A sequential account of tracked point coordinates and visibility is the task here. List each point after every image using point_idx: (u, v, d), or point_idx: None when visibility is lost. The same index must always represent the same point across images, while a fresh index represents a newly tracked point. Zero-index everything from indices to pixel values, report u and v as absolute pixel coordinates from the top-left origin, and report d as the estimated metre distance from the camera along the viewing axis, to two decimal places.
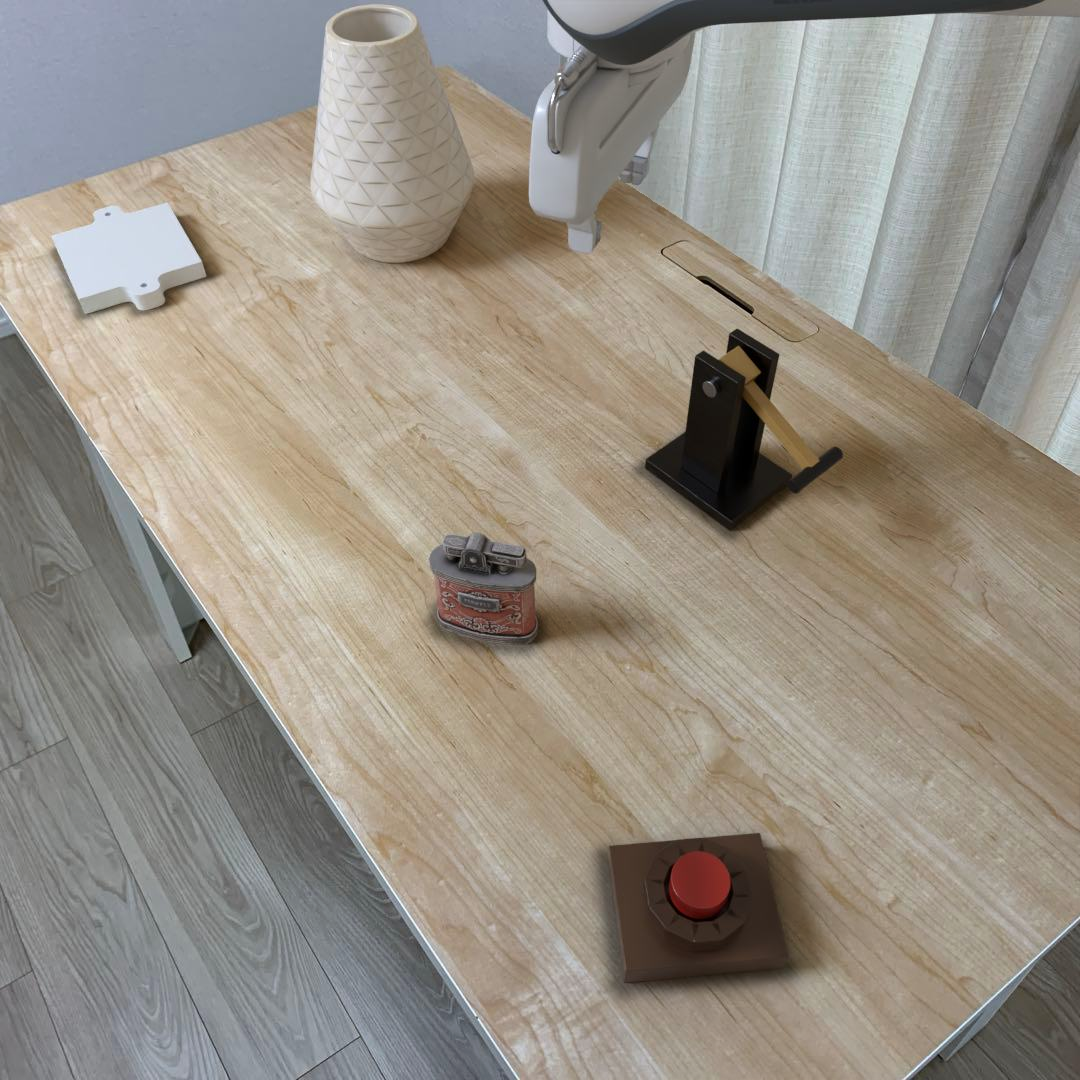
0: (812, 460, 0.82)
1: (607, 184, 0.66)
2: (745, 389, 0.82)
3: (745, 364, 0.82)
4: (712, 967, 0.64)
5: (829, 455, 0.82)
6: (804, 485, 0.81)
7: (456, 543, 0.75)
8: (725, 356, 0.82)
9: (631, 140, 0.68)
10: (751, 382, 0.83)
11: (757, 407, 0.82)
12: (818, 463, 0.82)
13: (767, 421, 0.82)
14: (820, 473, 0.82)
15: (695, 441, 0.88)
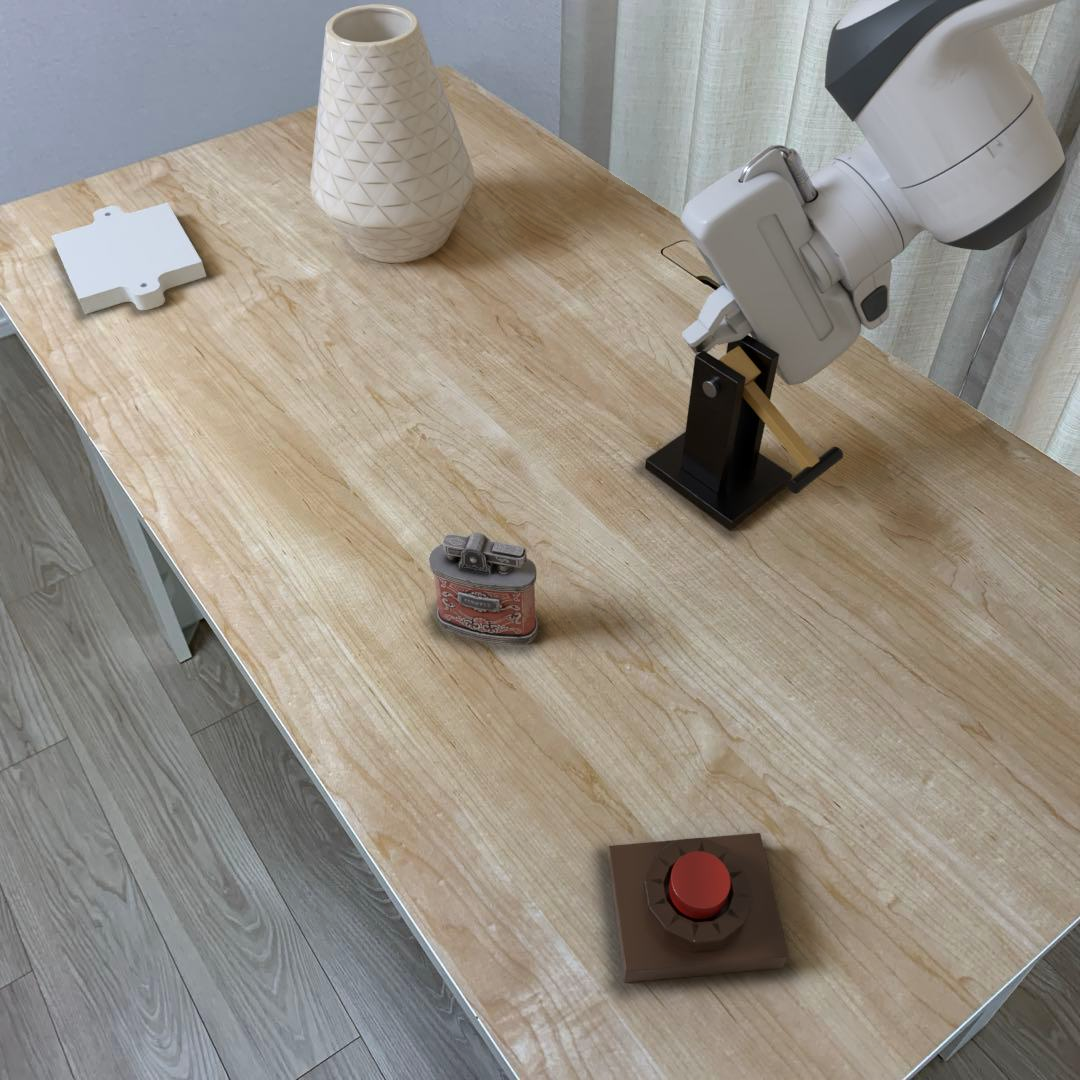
0: (812, 460, 0.82)
1: (730, 265, 0.76)
2: (745, 389, 0.82)
3: (745, 364, 0.82)
4: (712, 967, 0.64)
5: (829, 455, 0.82)
6: (804, 485, 0.81)
7: (456, 543, 0.75)
8: (725, 356, 0.82)
9: (761, 293, 0.79)
10: (751, 382, 0.83)
11: (757, 407, 0.82)
12: (818, 463, 0.82)
13: (767, 421, 0.82)
14: (820, 473, 0.82)
15: (695, 441, 0.88)
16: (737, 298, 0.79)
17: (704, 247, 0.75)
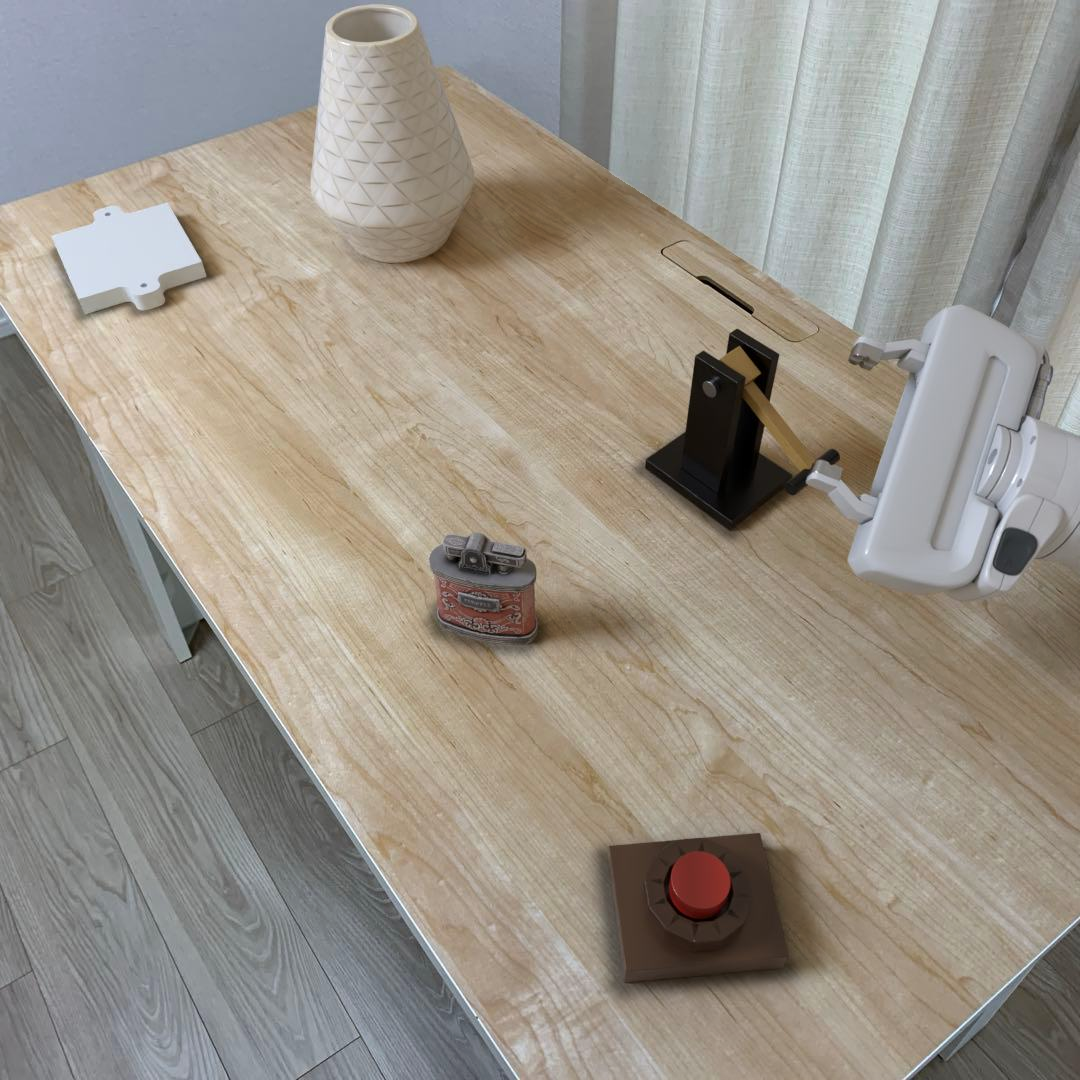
0: (810, 462, 0.82)
1: (944, 357, 0.71)
2: (745, 390, 0.82)
3: (746, 364, 0.82)
4: (712, 967, 0.64)
5: (826, 457, 0.82)
6: (801, 487, 0.81)
7: (456, 543, 0.75)
8: (726, 356, 0.82)
9: (938, 417, 0.70)
10: (751, 383, 0.83)
11: (757, 408, 0.82)
12: None
13: (766, 422, 0.83)
14: None
15: (695, 441, 0.88)
16: (918, 395, 0.71)
17: (941, 320, 0.72)
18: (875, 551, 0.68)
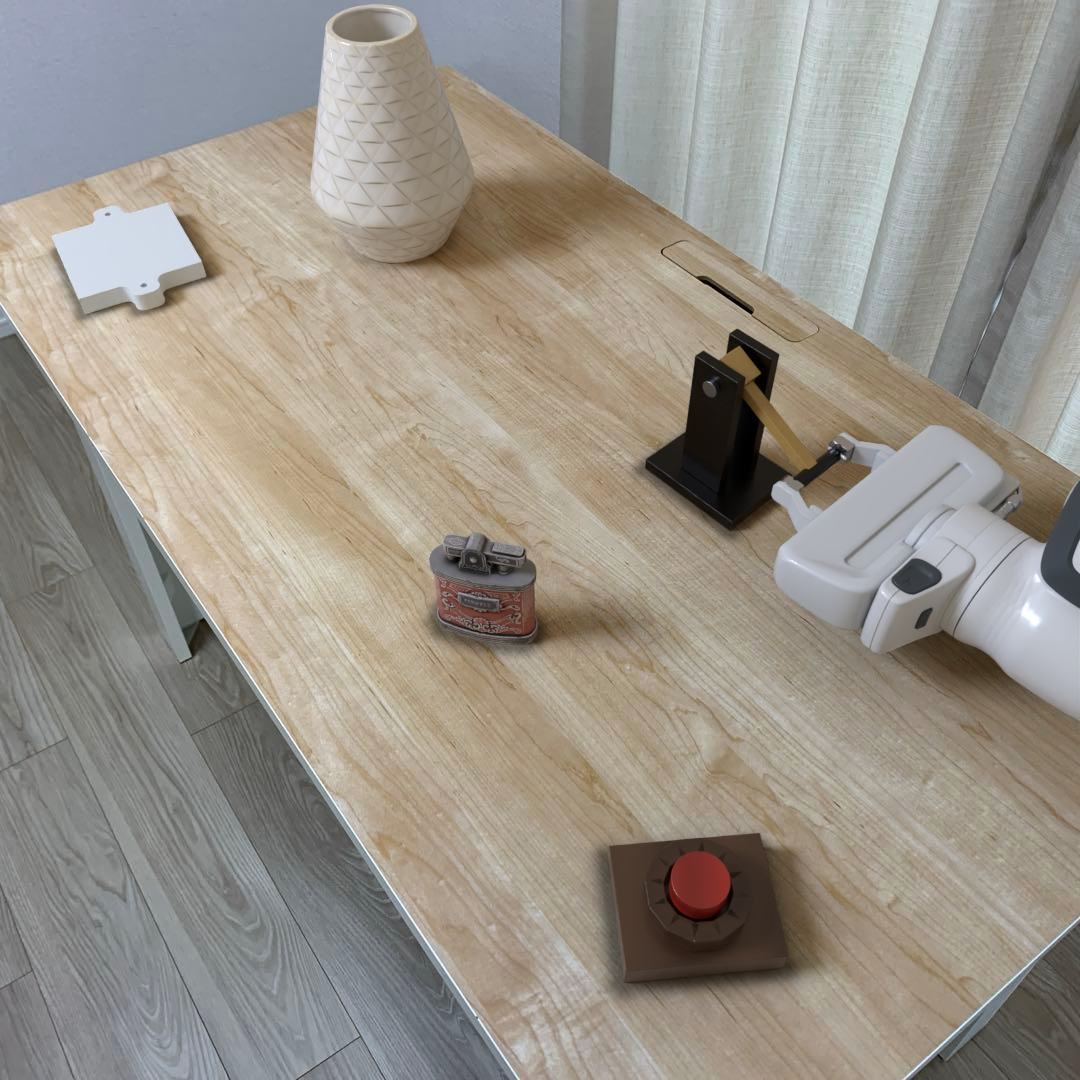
0: (810, 462, 0.82)
1: (914, 449, 0.81)
2: (745, 390, 0.82)
3: (746, 364, 0.82)
4: (712, 967, 0.64)
5: (826, 457, 0.82)
6: None
7: (456, 543, 0.75)
8: (726, 356, 0.82)
9: (890, 483, 0.78)
10: (751, 383, 0.83)
11: (757, 408, 0.82)
12: (815, 465, 0.82)
13: (766, 422, 0.83)
14: (817, 475, 0.82)
15: (695, 441, 0.88)
16: (880, 466, 0.80)
17: (923, 430, 0.82)
18: (790, 545, 0.75)
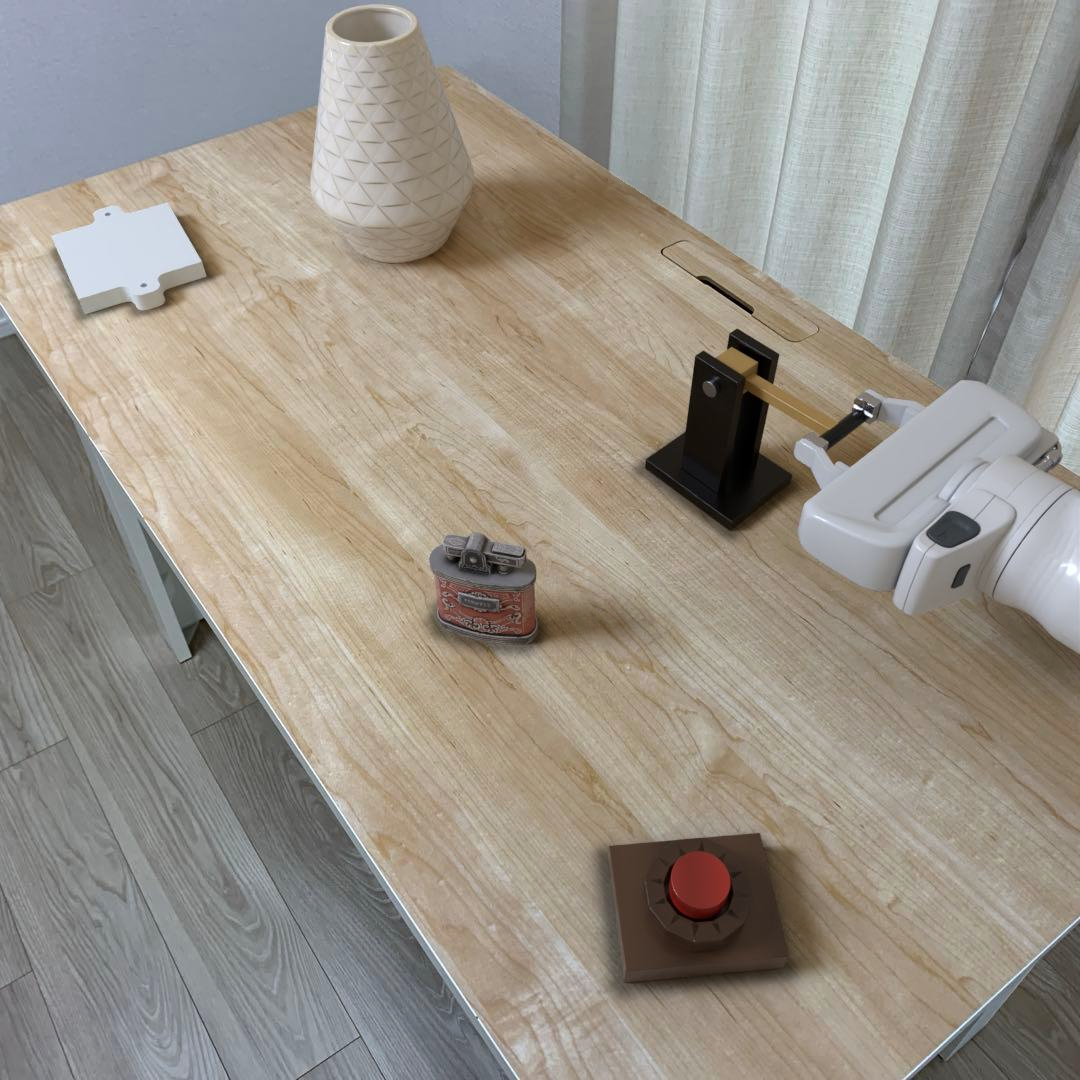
0: (830, 424, 0.78)
1: (945, 404, 0.76)
2: (746, 381, 0.82)
3: (740, 359, 0.82)
4: (712, 967, 0.64)
5: (848, 416, 0.78)
6: None
7: (456, 543, 0.75)
8: (718, 356, 0.83)
9: (921, 438, 0.74)
10: (751, 374, 0.82)
11: (763, 393, 0.81)
12: (836, 425, 0.78)
13: (776, 403, 0.80)
14: (841, 433, 0.77)
15: (695, 441, 0.88)
16: (909, 421, 0.75)
17: (954, 385, 0.78)
18: (815, 501, 0.70)
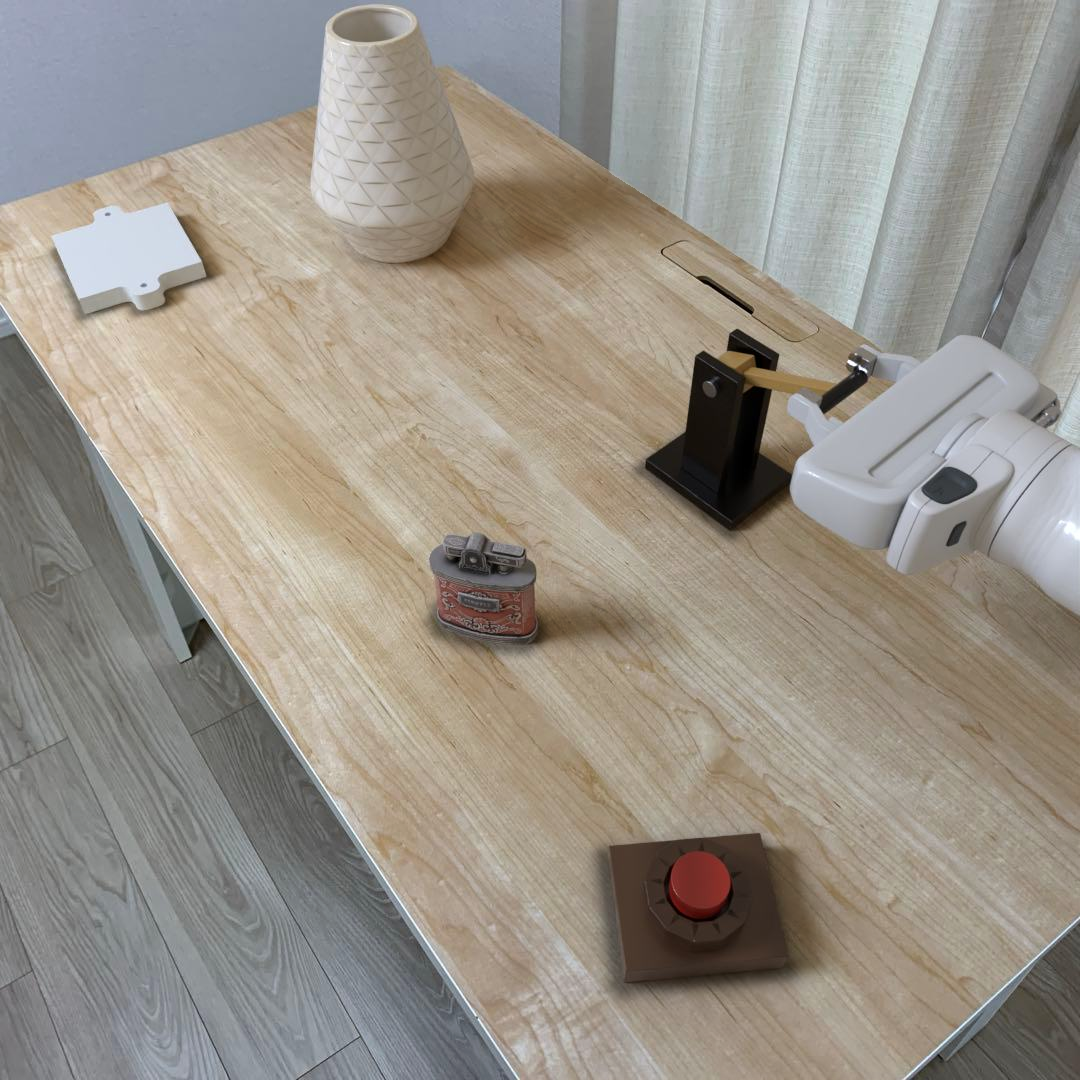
0: (829, 386, 0.76)
1: (942, 359, 0.74)
2: (745, 374, 0.81)
3: (736, 356, 0.82)
4: (712, 967, 0.64)
5: (847, 377, 0.76)
6: (824, 403, 0.74)
7: (456, 543, 0.75)
8: None
9: (917, 393, 0.72)
10: (750, 368, 0.82)
11: (762, 380, 0.80)
12: (836, 385, 0.76)
13: (776, 385, 0.79)
14: (841, 391, 0.75)
15: (695, 441, 0.88)
16: (905, 376, 0.73)
17: (951, 340, 0.76)
18: (809, 457, 0.68)
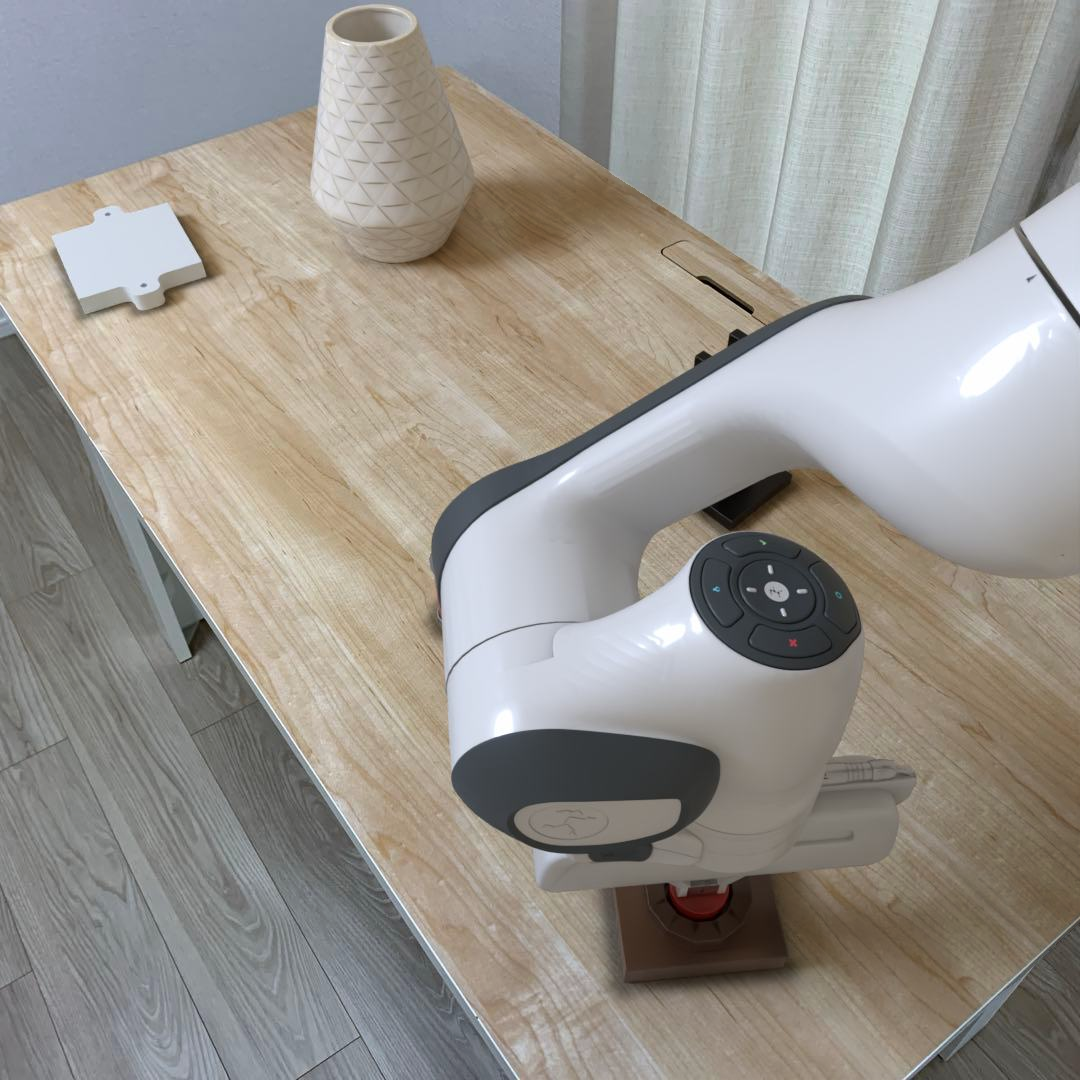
0: None
1: None
2: None
3: None
4: (712, 967, 0.64)
5: None
6: None
7: None
8: None
9: None
10: None
11: None
12: None
13: None
14: None
15: None
16: None
17: None
18: None
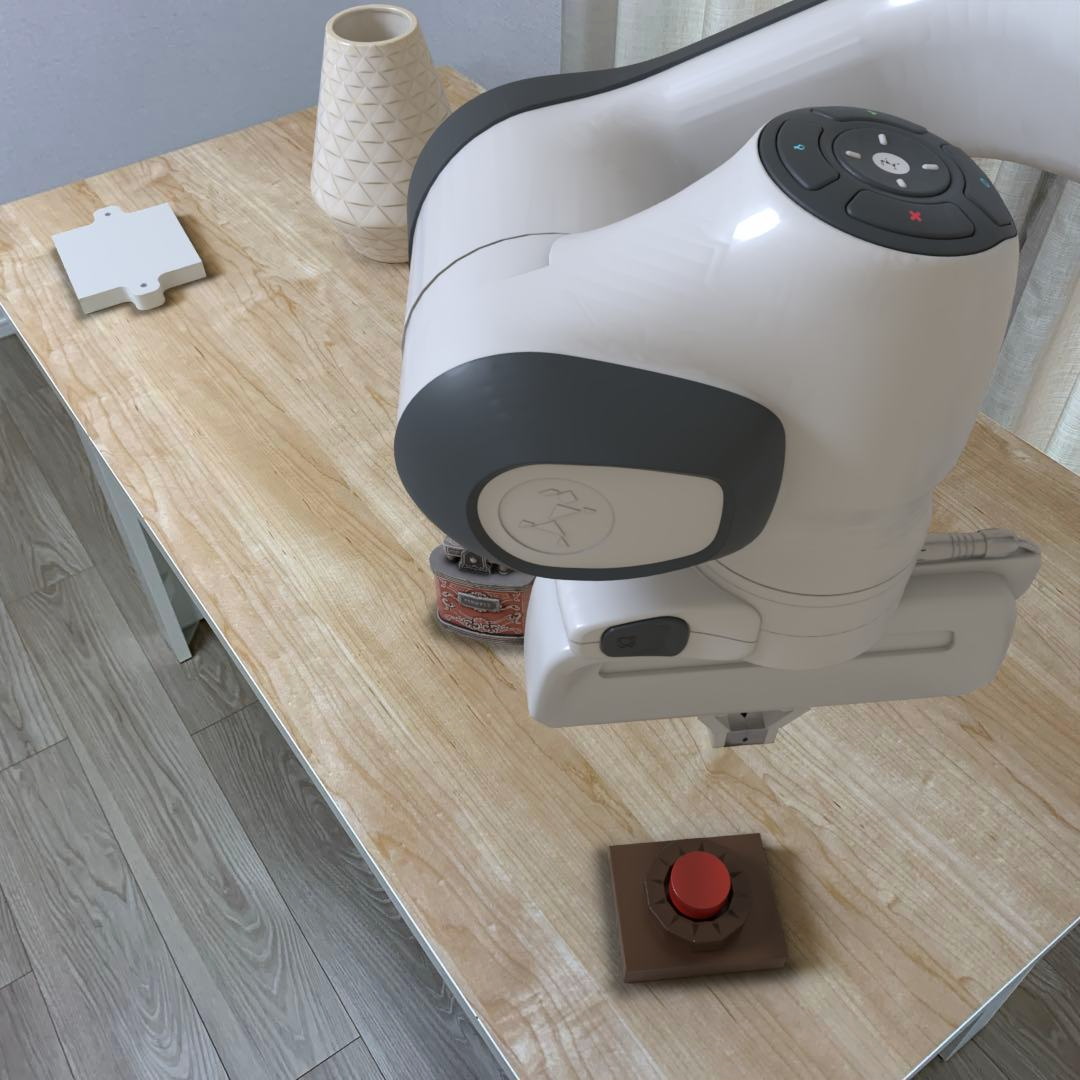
0: None
1: None
2: None
3: None
4: (712, 967, 0.64)
5: None
6: None
7: (456, 543, 0.75)
8: None
9: None
10: None
11: None
12: None
13: None
14: None
15: None
16: None
17: None
18: None
